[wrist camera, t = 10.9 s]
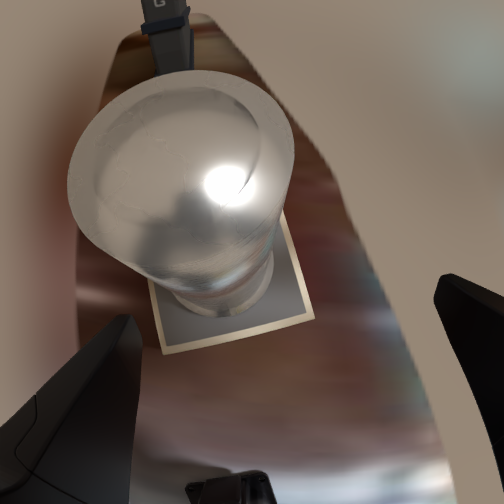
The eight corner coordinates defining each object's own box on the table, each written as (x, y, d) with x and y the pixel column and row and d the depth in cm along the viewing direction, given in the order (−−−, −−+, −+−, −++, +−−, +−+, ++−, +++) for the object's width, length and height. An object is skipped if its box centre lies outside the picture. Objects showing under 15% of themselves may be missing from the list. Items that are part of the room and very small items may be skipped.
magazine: (156, 112, 24) (130, -34, 13) (171, 78, 33) (155, -22, 21) (196, 105, 24) (176, -45, 13) (199, 73, 33) (186, -28, 21)
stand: (307, 320, 21) (316, 318, 18) (172, 352, 20) (161, 355, 17) (270, 196, 23) (273, 178, 20) (149, 226, 23) (136, 211, 20)
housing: (285, 302, 18) (352, 240, 6) (178, 328, 18) (58, 311, 6) (257, 204, 20) (266, 48, 8) (160, 228, 19) (67, 102, 7)
